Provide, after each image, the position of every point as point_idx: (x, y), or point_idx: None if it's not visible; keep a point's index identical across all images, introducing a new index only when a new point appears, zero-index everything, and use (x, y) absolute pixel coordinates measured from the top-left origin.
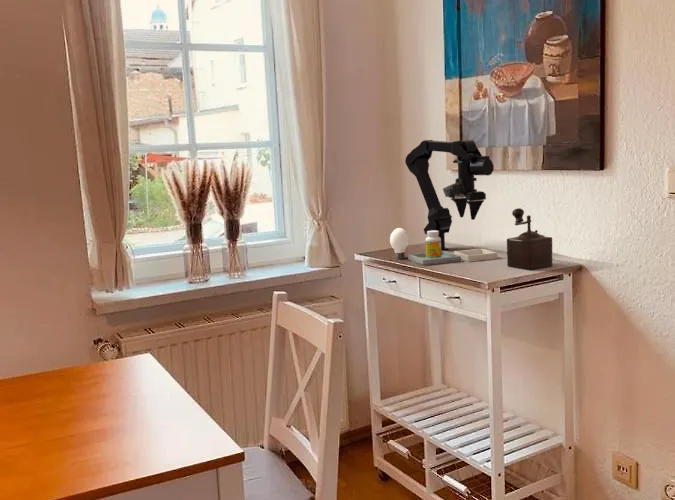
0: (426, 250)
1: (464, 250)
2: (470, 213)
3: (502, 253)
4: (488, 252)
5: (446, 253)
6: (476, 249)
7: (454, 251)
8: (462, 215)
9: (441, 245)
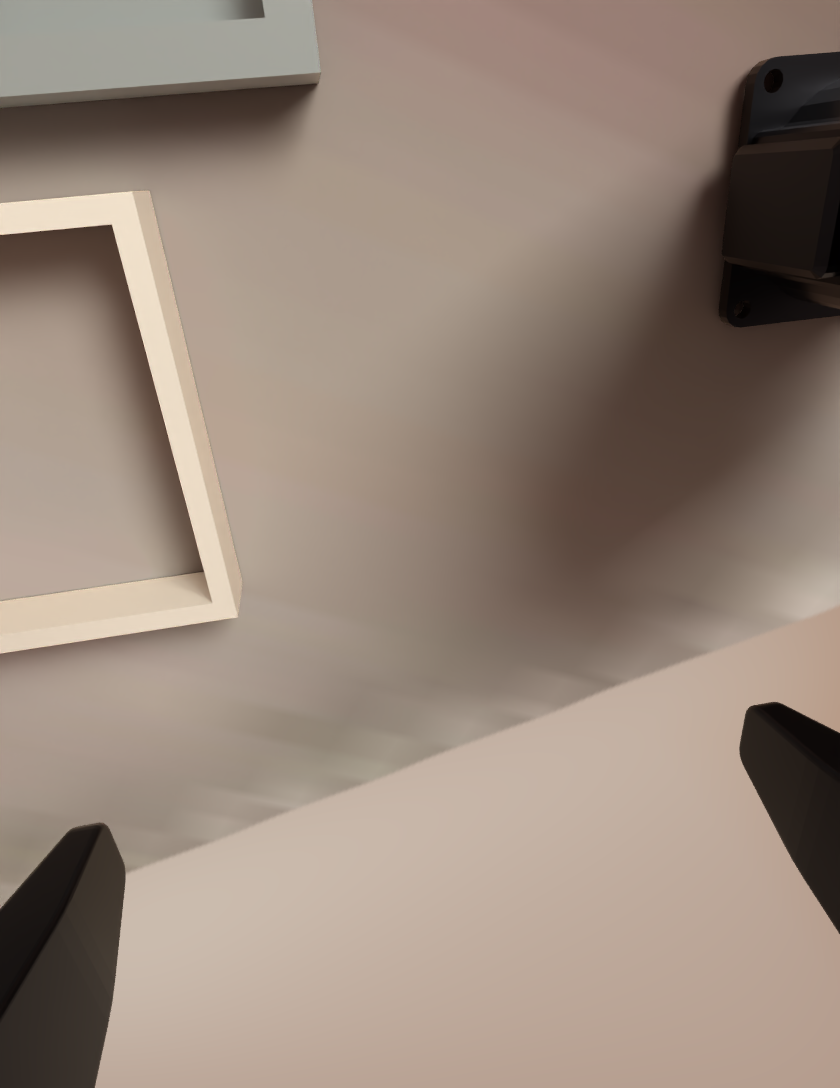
0: None
1: (159, 372)
2: (9, 979)
3: (201, 746)
4: (34, 619)
5: (100, 33)
6: (196, 540)
7: (116, 195)
8: (767, 775)
9: (754, 212)
